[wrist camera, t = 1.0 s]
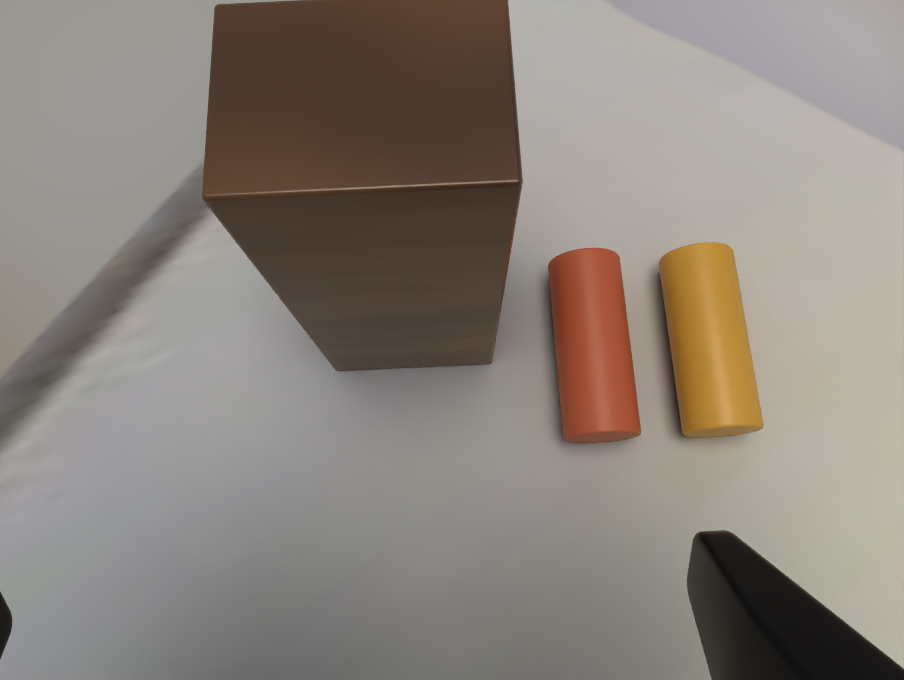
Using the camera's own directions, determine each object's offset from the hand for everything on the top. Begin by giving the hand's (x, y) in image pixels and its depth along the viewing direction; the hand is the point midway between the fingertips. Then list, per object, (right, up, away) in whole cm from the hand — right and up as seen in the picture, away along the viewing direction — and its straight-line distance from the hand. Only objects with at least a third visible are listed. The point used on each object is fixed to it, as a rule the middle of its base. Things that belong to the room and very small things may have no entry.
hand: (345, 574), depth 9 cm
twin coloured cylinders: (+8, +3, +15) cm, 17 cm away
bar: (0, +4, +15) cm, 16 cm away
